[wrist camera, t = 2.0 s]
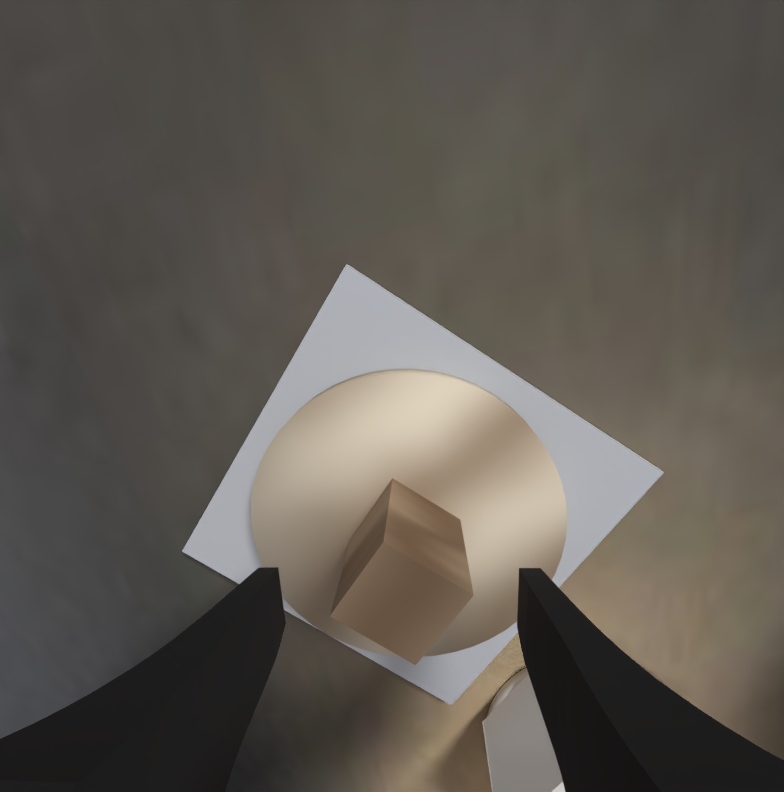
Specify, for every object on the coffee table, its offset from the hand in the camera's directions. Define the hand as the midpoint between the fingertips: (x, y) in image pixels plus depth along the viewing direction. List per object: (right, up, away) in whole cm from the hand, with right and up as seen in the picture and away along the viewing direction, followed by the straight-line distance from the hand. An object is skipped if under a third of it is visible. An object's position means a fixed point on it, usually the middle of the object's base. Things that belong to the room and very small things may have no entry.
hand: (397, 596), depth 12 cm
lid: (0, +1, +4) cm, 5 cm away
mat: (0, +1, +5) cm, 5 cm away
